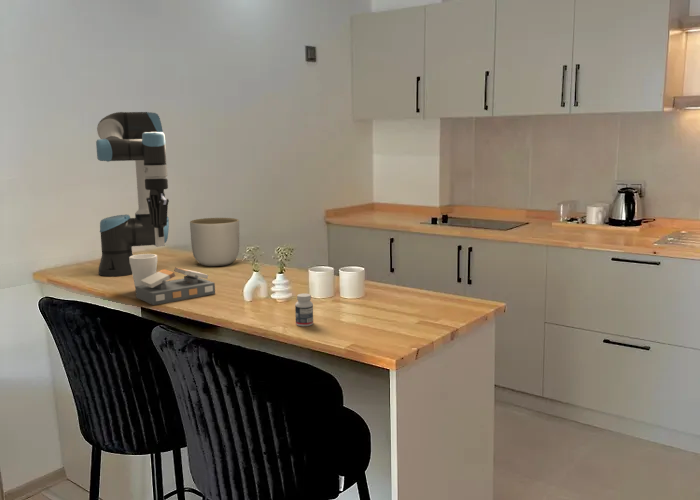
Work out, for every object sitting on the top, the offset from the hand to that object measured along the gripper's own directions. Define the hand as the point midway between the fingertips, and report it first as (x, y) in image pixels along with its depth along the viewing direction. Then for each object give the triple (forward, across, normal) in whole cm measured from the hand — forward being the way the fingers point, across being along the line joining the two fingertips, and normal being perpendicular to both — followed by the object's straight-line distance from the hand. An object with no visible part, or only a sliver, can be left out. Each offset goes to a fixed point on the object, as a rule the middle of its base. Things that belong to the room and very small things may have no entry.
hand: (160, 246), depth 227 cm
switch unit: (+18, +4, +3) cm, 18 cm away
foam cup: (+18, -9, -3) cm, 20 cm away
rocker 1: (+11, +4, -3) cm, 12 cm away
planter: (+16, -38, +42) cm, 59 cm away
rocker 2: (+11, +4, +9) cm, 15 cm away
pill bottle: (+19, +62, +16) cm, 67 cm away
